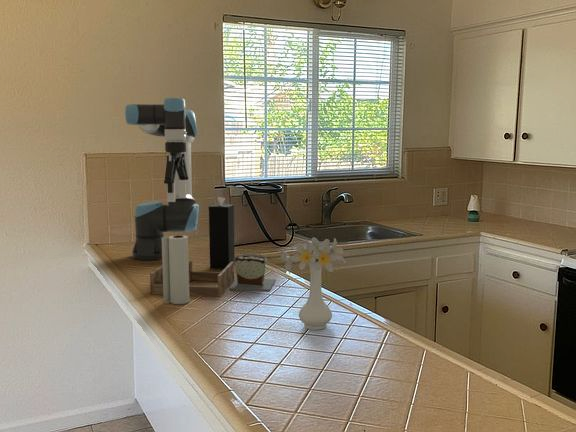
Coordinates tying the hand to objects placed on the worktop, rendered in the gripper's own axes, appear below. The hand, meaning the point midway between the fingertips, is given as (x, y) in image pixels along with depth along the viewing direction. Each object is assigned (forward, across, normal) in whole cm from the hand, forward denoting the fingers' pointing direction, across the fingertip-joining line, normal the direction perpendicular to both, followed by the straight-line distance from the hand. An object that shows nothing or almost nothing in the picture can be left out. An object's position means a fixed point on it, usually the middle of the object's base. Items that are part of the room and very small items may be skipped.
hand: (177, 199), depth 224 cm
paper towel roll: (+29, -33, -10) cm, 45 cm away
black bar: (+29, +15, -13) cm, 35 cm away
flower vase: (+29, -52, -55) cm, 81 cm away
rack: (+29, -15, -10) cm, 34 cm away
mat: (+29, -10, -30) cm, 43 cm away
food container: (+28, -10, -30) cm, 42 cm away
